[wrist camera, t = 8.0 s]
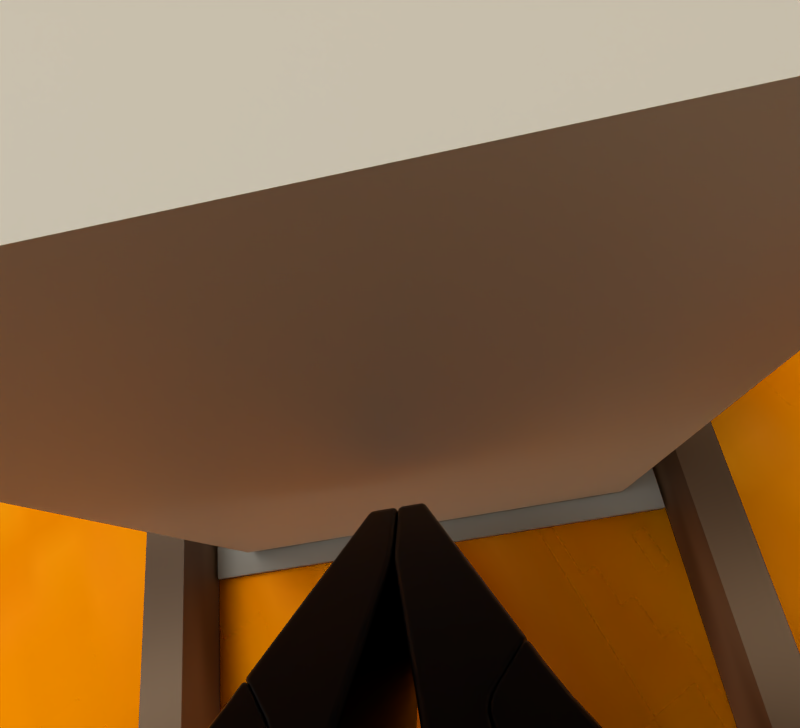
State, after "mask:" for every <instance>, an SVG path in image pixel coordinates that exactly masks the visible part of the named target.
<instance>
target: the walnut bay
mask: <svg viewBox="0 0 800 728" xmlns="http://www.w3.org/2000/svg"><path fill="white" fill-rule="evenodd" d="M652 468H653V469H652ZM652 468H651V469H650V470H649V471H647V472H646V473H645V474H644V475H642V476H641V477H640V478H639V479H637V480H636V481H635V482H634V483H632V484H631V485H630V486H629V487H627V488H626V489H625V490H624V491H621V492H615V493H609V494H603V495H597V496H591V497H585V498H579V499H572V500H566V501H560V502H554V503H548V504H542V505H536V506H530V507H524V508H518V509H511V510H505V511H499V512H493V513H487V514H481V515H475V516H469V517H463V518H457V519H450V520H444V521H438V522H439V523H440V524H441V526H442V527H443V528H444V530H445V531H446V532H447V534H448V535H449V536H450V538H451V539H452V540H453V541H454V542H459V541H465V540H472V539H478V538H484V537H490V536H496V535H503V534H509V533H515V532H521V531H527V530H534V529H540V528H546V527H552V526H559V525H565V524H571V523H577V522H583V521H590V520H596V519H602V518H608V517H614V516H621V515H627V514H633V513H639V512H646V511H652V510H658V509H662V508H664V507H665V508H666V511H667V514H668V517H669V520H670V523H671V526H672V529H673V533H674V536H675V539H676V542H677V545H678V548H679V551H680V554H681V557H682V560H683V563H684V566H685V569H686V572H687V575H688V578H689V581H690V585H691V588H692V591H693V594H694V597H695V600H696V603H697V606H698V609H699V612H700V615H701V618H702V621H703V624H704V627H705V630H706V633H707V637H708V640H709V643H710V646H711V649H712V652H713V655H714V658H715V661H716V664H717V667H718V670H719V673H720V676H721V679H722V682H723V685H724V689H725V692H726V695H727V698H728V701H729V704H730V707H731V710H732V713H733V716H734V719H735V722H736V725H737V728H800V654H799V651H798V648H797V646H796V643H795V641H794V638H793V635H792V633H791V630H790V628H789V625H788V622H787V620H786V617H785V614H784V612H783V609H782V607H781V604H780V601H779V599H778V596H777V594H776V591H775V588H774V586H773V583H772V581H771V578H770V575H769V573H768V570H767V567H766V565H765V562H764V560H763V557H762V554H761V552H760V549H759V547H758V544H757V541H756V539H755V536H754V534H753V531H752V528H751V526H750V523H749V521H748V518H747V515H746V513H745V510H744V507H743V505H742V502H741V500H740V497H739V494H738V492H737V489H736V487H735V484H734V481H733V479H732V476H731V474H730V471H729V468H728V466H727V463H726V460H725V458H724V455H723V453H722V450H721V447H720V445H719V442H718V440H717V437H716V434H715V432H714V429H713V427H712V424H711V421H710V422H709V423H708V424H706V425H705V426H704V427H703V428H701V429H700V430H699V431H698V432H696V433H695V434H694V435H693V436H691V437H690V438H689V439H688V440H686V441H685V442H684V443H683V444H681V445H680V446H679V447H678V448H676V449H675V450H674V451H673V452H671V453H670V454H669V455H668V456H666V457H665V458H664V459H662V460H661V461H660V462H659V463H657V464H656V465H655V466H654V467H652ZM653 471H654V472H653ZM654 474H655V475H654ZM655 477H656V478H655ZM351 537H352V536H347V537H341V538H335V539H328V540H322V541H316V542H310V543H304V544H298V545H292V546H286V547H280V548H274V549H267V550H261V551H255V552H249V553H248V552H243V551H238V550H233V549H228V548H223V547H219V546H214V545H209V544H204V543H199V542H194V541H189V540H184V539H179V538H174V537H169V536H165V535H160V534H155V533H150V532H147V547H146V570H145V593H144V616H143V639H142V662H141V685H140V708H139V728H208V727H209V726H210V724H211V723H212V722H213V721H214V719H215V718H216V717H217V716H218V714H219V713H220V641H219V579H222V580H223V579H229V578H235V577H242V576H248V575H254V574H260V573H267V572H273V571H279V570H285V569H291V568H298V567H304V566H310V565H316V564H322V563H329V562H333V561H334V560H335V559H336V557H337V556H338V555H339V553H340V552H341V551H342V549H343V548H344V547H345V545H346V544H347V543H348V541H349V540H350V539H351Z"/></svg>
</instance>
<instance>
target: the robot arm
mask: <svg viewBox="0 0 800 728" xmlns="http://www.w3.org/2000/svg"><path fill="white" fill-rule="evenodd" d="M246 682H247V683H242V684H241V685H240V687H239V688H238V689H237V691H236V692H235V693H234V695H233V696H232V697H231V699H230V700H229V701H228V703H227V704H226V705H225V707H224V708H223V709H222V710H221V712H220V713H219V714H218V716H217V717H216V718H215V719H214V721H213V722H212V723H211V724H210V726H209V727H208V728H416V727H417V706H418V712H419V718H420V724H421V728H602V727H601V726H600V725H599V724H598V723H597V721H596V720H595V719H594V718H593V717H592V716H591V715H590V714H589V713H588V712H587V711H586V710H585V709H584V707H583V706H582V705H581V704H580V703H579V702H578V701H577V700H576V699H575V698H574V697H573V696H572V694H571V693H570V692H569V691H568V690H567V688H566V687H565V686H564V685H563V683H562V682H561V681H560V680H559V679H558V677H557V676H556V675H555V674H554V672H553V671H552V670H551V669H550V668H549V666H548V665H547V664H546V663H545V661H544V660H543V659H542V657H541V656H540V655H539V653H538V652H537V651H536V649H535V648H534V647H533V645H532V644H531V643H530V642H529V641H527V639H526V637H525V635H524V634H523V633H522V631H521V630H520V629H519V627H518V626H517V625H516V623H515V622H514V621H513V619H512V618H511V617H510V616H509V614H508V613H507V612H506V610H505V609H504V608H503V606H502V605H501V604H500V602H499V601H498V600H497V598H496V597H495V596H494V594H493V593H492V592H491V590H490V589H489V588H488V586H487V585H486V584H485V582H484V581H483V580H482V578H481V577H480V576H479V575H478V573H477V572H476V571H475V569H474V568H473V567H472V565H471V564H470V563H469V561H468V560H467V559H466V557H465V556H464V555H463V553H462V552H461V551H460V549H459V548H458V547H457V545H456V544H455V543H454V541H453V540H452V539H451V538H450V536H449V535H448V534H447V532H446V531H445V530H444V528H443V527H442V526H441V524H440V523H439V522H438V520H437V519H436V518H435V516H434V515H433V514H432V512H431V511H430V510H429V508H428V507H427V506H426V505H425V504H423V503H419V504H413V505H407V506H402V507H400V508H399V509H398V511H397V509H395V508H389V509H383V510H377V511H372V512H371V513H370V514H369V515H368V516H367V517H366V519H365V520H364V521H363V523H362V524H361V525H360V527H359V528H358V529H357V531H356V532H355V533H354V535H353V536H352V537H351V539H350V540H349V541H348V543H347V544H346V545H345V547H344V548H343V549H342V551H341V552H340V553H339V555H338V556H337V557H336V559H335V560H334V561H333V563H332V564H331V565H330V567H329V568H328V569H327V571H326V572H325V573H324V575H323V576H322V577H321V579H320V580H319V581H318V583H317V584H316V585H315V587H314V588H313V589H312V591H311V592H310V593H309V595H308V596H307V597H306V599H305V600H304V601H303V603H302V604H301V605H300V607H299V608H298V609H297V611H296V612H295V613H294V615H293V616H292V617H291V619H290V620H289V621H288V623H287V624H286V625H285V627H284V628H283V629H282V631H281V632H280V634H279V635H278V636H277V638H276V639H275V640H274V642H273V643H272V644H271V646H270V647H269V648H268V650H267V651H266V652H265V654H264V655H263V656H262V658H261V659H260V660H259V662H258V663H257V664H256V666H255V667H254V668H253V670H252V671H251V672H250V674H249V675H248V676H247V678H246Z"/></svg>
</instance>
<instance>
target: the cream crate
mask: <svg viewBox="0 0 800 728" xmlns="http://www.w3.org/2000/svg"><path fill="white" fill-rule="evenodd" d="M799 350H800V0H0V502H3V503H7V504H12V505H17V506H22V507H27V508H32V509H37V510H42V511H47V512H52V513H57V514H61V515H66V516H71V517H76V518H81V519H86V520H91V521H96V522H101V523H106V524H111V525H115V526H120V527H125V528H130V529H135V530H140V531H145V532H150V533H155V534H160V535H165V536H169V537H174V538H179V539H184V540H189V541H194V542H199V543H204V544H209V545H214V546H219V547H223V548H228V549H233V550H238V551H243V552H248V553H249V552H255V551H261V550H267V549H274V548H280V547H286V546H292V545H298V544H304V543H310V542H316V541H322V540H328V539H335V538H341V537H347V536H353V535H354V533H355V532H356V531H357V529H358V528H359V527H360V525H361V524H362V523H363V521H364V520H365V519H366V517H367V516H368V515H369V514H370V513H371V512H372V511H377V510H383V509H389V508H395V509H397V511H398V509H399V508H400V507H402V506H407V505H413V504H419V503H423V504H425V505H426V506H427V507H428V508H429V510H430V511H431V512H432V514H433V515H434V516H435V518H436V519H437V520H438V521H444V520H450V519H457V518H463V517H469V516H475V515H481V514H487V513H493V512H499V511H505V510H511V509H518V508H524V507H530V506H536V505H542V504H548V503H554V502H560V501H566V500H572V499H579V498H585V497H591V496H597V495H603V494H609V493H615V492H621V491H624V490H625V489H626V488H627V487H629V486H630V485H631V484H632V483H634V482H635V481H636V480H637V479H639V478H640V477H641V476H642V475H644V474H645V473H646V472H647V471H649V470H650V469H651V468H652V467H654V466H655V465H656V464H657V463H659V462H660V461H661V460H662V459H664V458H665V457H666V456H668V455H669V454H670V453H671V452H673V451H674V450H675V449H676V448H678V447H679V446H680V445H681V444H683V443H684V442H685V441H686V440H688V439H689V438H690V437H691V436H693V435H694V434H695V433H696V432H698V431H699V430H700V429H701V428H703V427H704V426H705V425H706V424H708V423H709V422H710V421H711V420H713V419H714V418H715V417H717V416H718V415H719V414H720V413H722V412H723V411H724V410H725V409H727V408H728V407H729V406H730V405H732V404H733V403H734V402H735V401H737V400H738V399H739V398H740V397H742V396H743V395H744V394H745V393H747V392H748V391H749V390H750V389H752V388H753V387H754V386H755V385H757V384H758V383H759V382H760V381H762V380H763V379H764V378H766V377H767V376H768V375H769V374H771V373H772V372H773V371H774V370H776V369H777V368H778V367H779V366H781V365H782V364H783V363H784V362H786V361H787V360H788V359H789V358H791V357H792V356H793V355H794V354H796V353H797V352H798V351H799Z"/></svg>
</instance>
